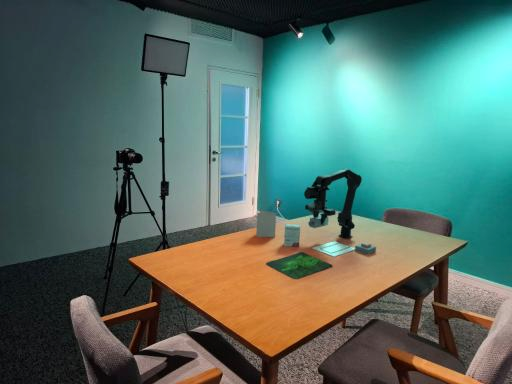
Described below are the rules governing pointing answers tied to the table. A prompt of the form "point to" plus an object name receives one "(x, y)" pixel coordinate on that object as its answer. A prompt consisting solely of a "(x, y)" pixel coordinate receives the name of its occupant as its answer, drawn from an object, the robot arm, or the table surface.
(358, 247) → the button frame
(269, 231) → the greeting card
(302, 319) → the table surface
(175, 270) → the table surface
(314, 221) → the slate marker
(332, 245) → the paper sheet
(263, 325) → the table surface
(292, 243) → the ink box
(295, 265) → the mouse mat
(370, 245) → the button
